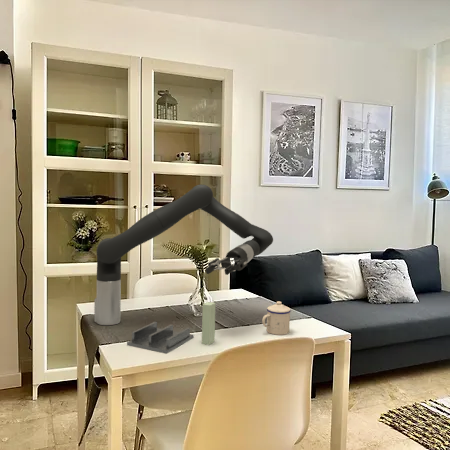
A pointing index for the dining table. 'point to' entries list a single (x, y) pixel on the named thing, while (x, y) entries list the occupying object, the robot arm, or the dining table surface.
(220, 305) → the dining table surface
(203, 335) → the pale green rectangular block
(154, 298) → the dining table surface
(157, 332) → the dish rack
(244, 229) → the robot arm
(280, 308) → the teacup with lid
